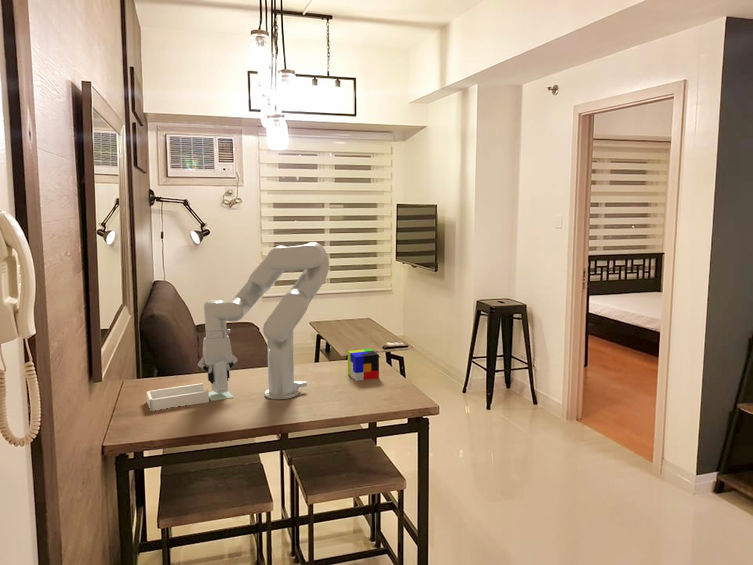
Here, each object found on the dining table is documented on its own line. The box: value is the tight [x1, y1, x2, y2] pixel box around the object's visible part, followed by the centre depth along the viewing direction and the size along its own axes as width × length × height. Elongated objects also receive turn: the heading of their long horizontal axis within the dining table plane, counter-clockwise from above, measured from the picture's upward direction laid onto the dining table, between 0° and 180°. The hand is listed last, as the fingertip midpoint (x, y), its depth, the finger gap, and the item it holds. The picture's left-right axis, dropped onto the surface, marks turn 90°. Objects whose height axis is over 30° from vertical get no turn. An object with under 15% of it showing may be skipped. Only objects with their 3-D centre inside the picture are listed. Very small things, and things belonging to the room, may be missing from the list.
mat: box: [208, 390, 234, 402], centre depth 222 cm, size 8×10×1 cm
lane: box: [145, 382, 210, 412], centre depth 215 cm, size 20×11×4 cm, turn 117°
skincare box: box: [210, 360, 229, 394], centre depth 220 cm, size 6×4×12 cm
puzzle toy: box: [347, 348, 380, 382], centre depth 244 cm, size 10×10×10 cm
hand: (219, 380), depth 221 cm, fingers closed on skincare box, 4 cm apart
